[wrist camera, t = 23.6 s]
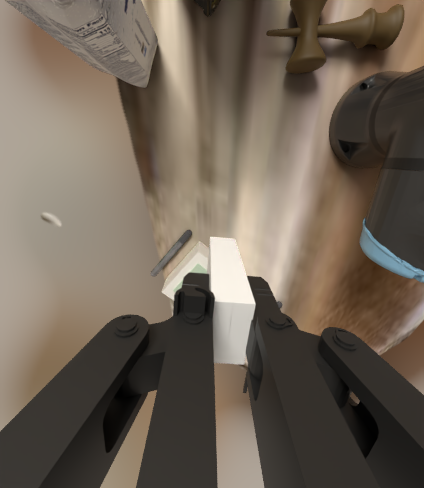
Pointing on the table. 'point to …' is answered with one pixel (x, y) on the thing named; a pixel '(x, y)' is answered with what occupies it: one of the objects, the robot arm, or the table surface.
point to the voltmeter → (208, 6)
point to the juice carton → (99, 33)
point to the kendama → (336, 32)
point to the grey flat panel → (173, 251)
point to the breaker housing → (187, 268)
